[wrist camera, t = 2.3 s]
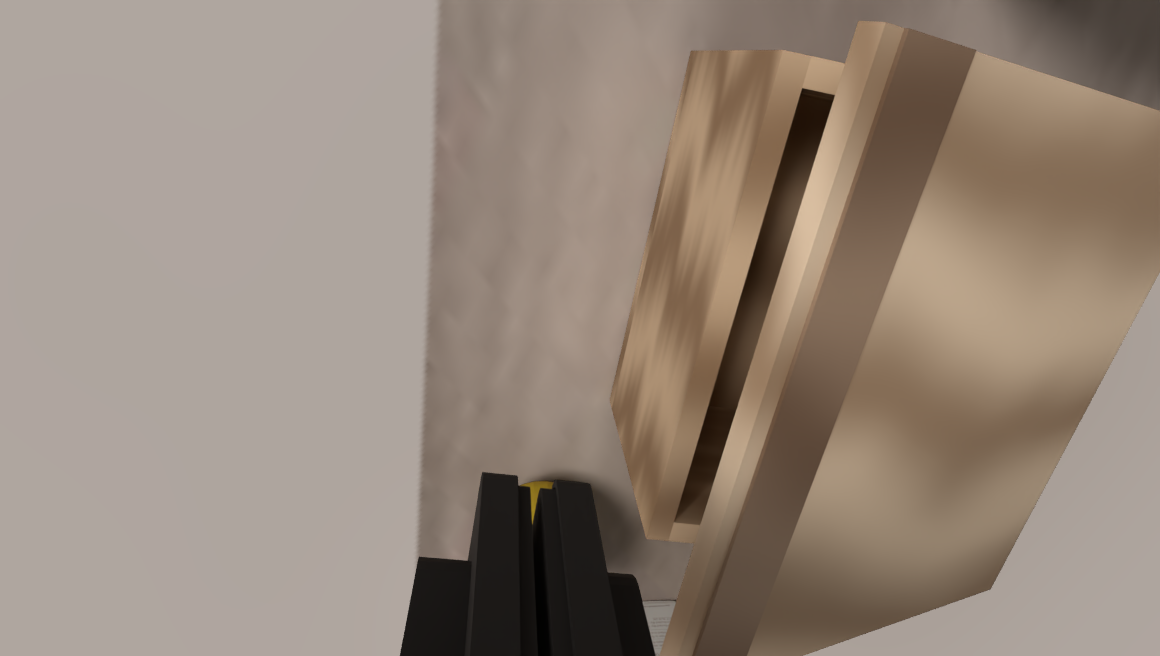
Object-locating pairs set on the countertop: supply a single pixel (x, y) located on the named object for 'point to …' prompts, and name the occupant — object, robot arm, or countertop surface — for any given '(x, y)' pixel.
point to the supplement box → (658, 620)
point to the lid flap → (922, 345)
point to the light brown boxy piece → (713, 268)
